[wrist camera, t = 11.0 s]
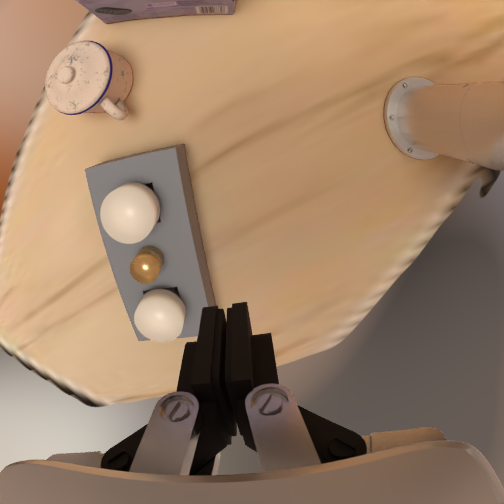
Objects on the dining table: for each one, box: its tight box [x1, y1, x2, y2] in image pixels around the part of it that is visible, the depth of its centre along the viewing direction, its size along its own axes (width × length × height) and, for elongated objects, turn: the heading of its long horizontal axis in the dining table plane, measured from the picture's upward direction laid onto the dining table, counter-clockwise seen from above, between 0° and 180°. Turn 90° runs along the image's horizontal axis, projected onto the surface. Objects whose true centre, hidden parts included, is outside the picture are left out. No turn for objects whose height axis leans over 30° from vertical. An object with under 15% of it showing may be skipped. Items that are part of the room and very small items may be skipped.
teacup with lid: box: [45, 41, 133, 120], centre depth 30 cm, size 12×9×12 cm
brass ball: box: [130, 245, 164, 284], centre depth 37 cm, size 4×4×4 cm
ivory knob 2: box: [134, 287, 186, 342], centre depth 42 cm, size 6×6×9 cm
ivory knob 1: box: [100, 182, 160, 244], centre depth 36 cm, size 6×6×9 cm
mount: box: [85, 144, 216, 341], centre depth 41 cm, size 12×26×6 cm, turn 7°
